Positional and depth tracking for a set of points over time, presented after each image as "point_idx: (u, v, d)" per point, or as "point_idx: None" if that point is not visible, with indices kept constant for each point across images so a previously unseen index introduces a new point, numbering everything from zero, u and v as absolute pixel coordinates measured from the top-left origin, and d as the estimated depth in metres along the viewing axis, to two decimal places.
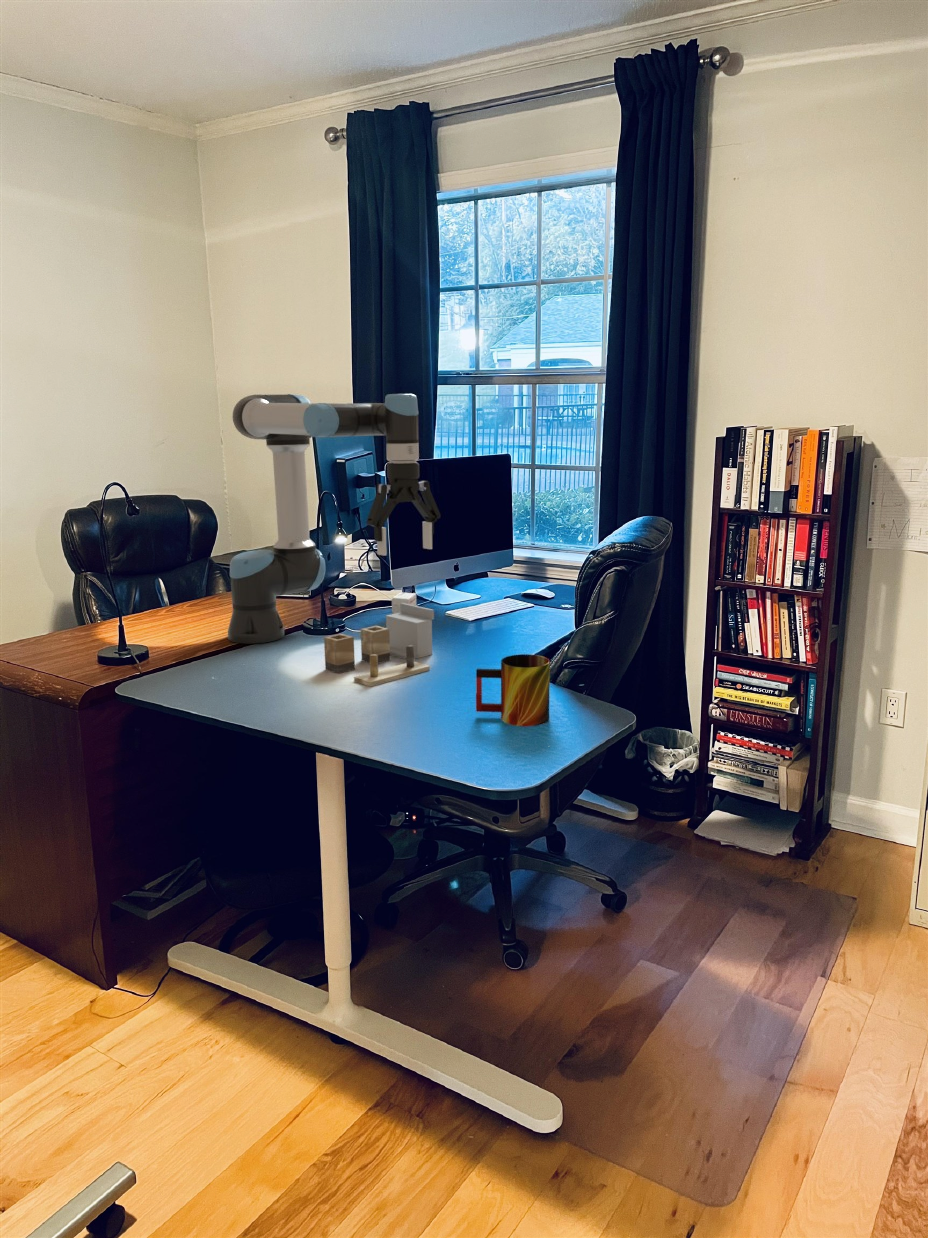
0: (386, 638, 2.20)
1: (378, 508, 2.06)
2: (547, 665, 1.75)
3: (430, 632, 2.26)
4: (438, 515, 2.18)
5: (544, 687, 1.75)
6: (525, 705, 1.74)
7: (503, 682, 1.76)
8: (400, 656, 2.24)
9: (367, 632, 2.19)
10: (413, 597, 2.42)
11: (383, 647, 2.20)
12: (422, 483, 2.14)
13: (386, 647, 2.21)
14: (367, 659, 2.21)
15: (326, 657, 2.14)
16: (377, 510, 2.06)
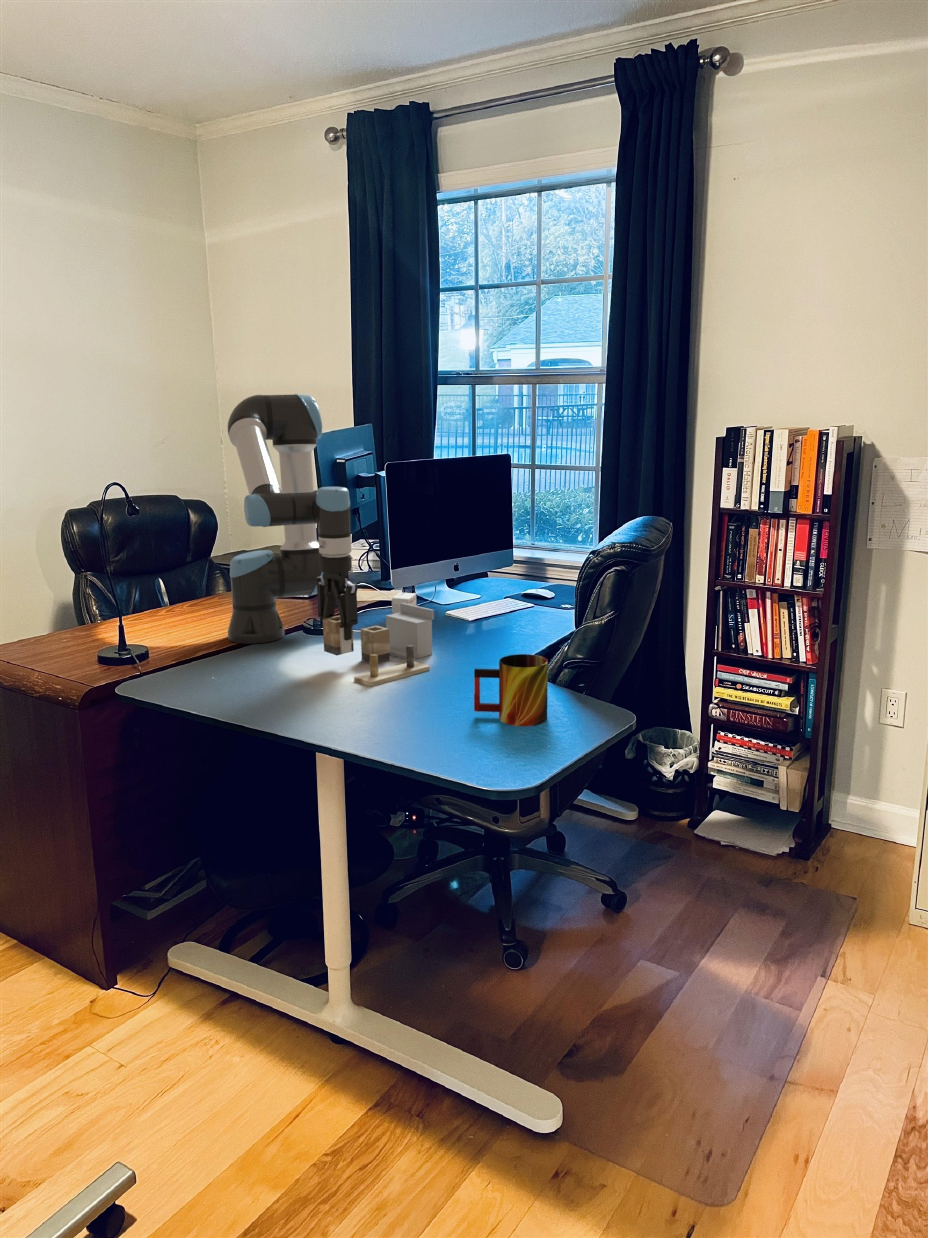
0: (386, 638, 2.20)
1: (318, 600, 2.15)
2: (545, 665, 1.75)
3: (430, 632, 2.26)
4: (347, 622, 2.08)
5: (542, 687, 1.75)
6: (523, 704, 1.74)
7: (501, 682, 1.76)
8: (400, 656, 2.24)
9: (367, 632, 2.19)
10: (413, 597, 2.42)
11: (383, 647, 2.20)
12: (348, 584, 2.06)
13: (386, 647, 2.21)
14: (367, 659, 2.21)
15: (324, 639, 2.14)
16: (318, 603, 2.15)
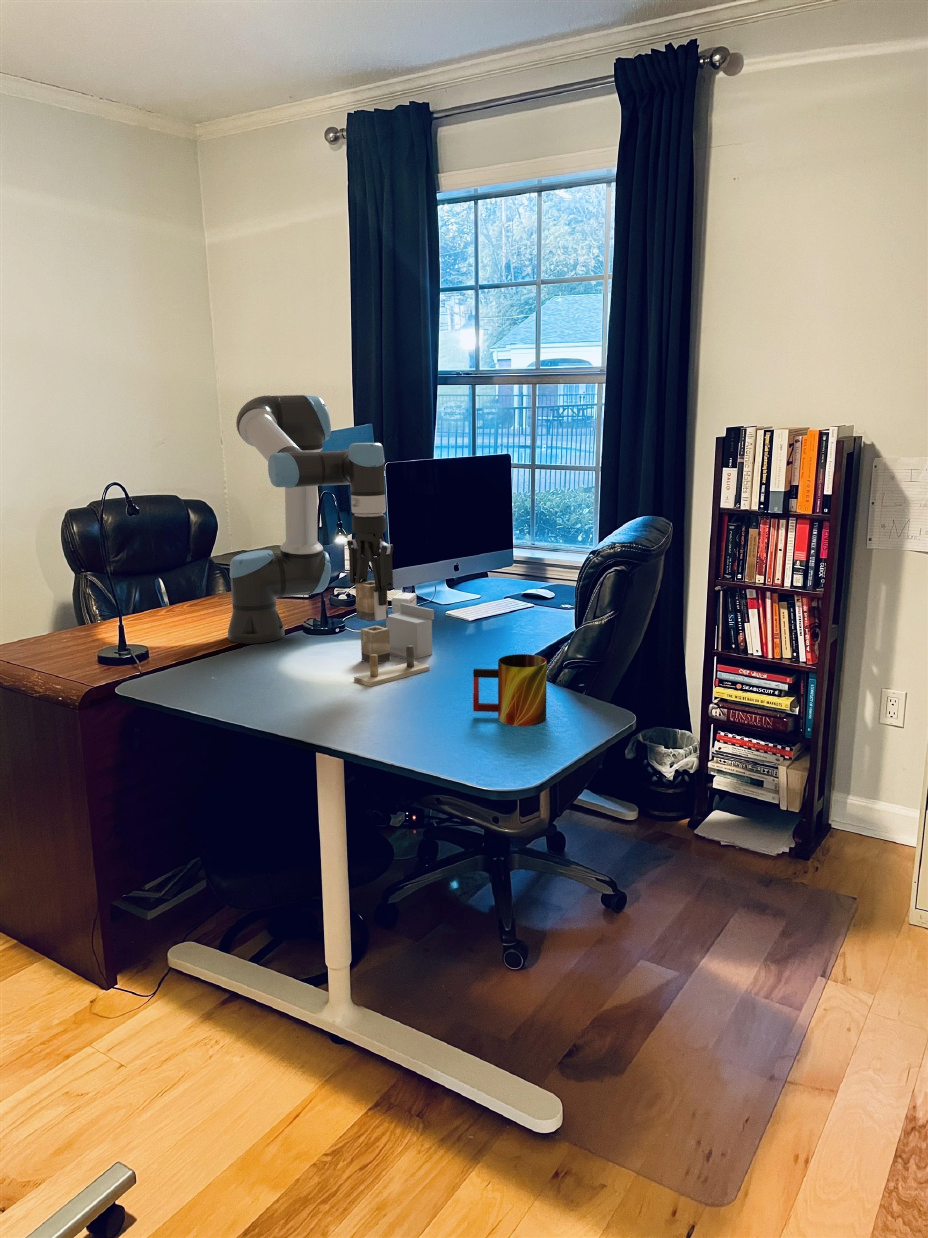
0: (386, 638, 2.20)
1: (350, 565, 2.03)
2: (544, 665, 1.75)
3: (430, 632, 2.26)
4: (382, 586, 1.96)
5: (541, 687, 1.75)
6: (522, 704, 1.75)
7: (500, 682, 1.77)
8: (400, 656, 2.24)
9: (367, 632, 2.19)
10: (413, 597, 2.42)
11: (383, 647, 2.20)
12: (383, 545, 1.95)
13: (386, 647, 2.21)
14: (367, 659, 2.21)
15: (357, 605, 2.01)
16: (350, 567, 2.03)
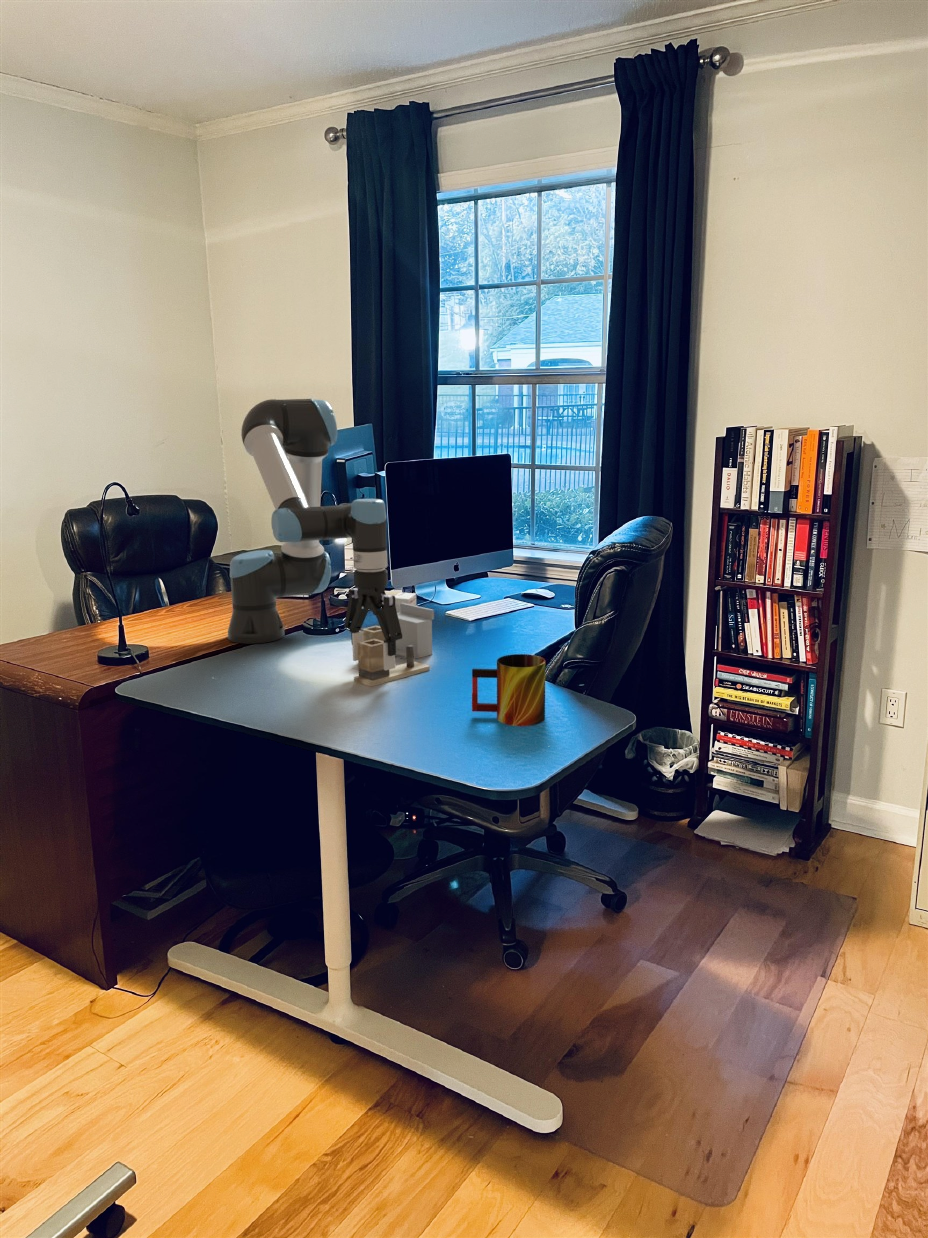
0: None
1: (347, 612, 2.07)
2: (543, 665, 1.75)
3: (430, 632, 2.26)
4: (391, 637, 1.97)
5: (540, 687, 1.75)
6: (520, 704, 1.75)
7: (499, 682, 1.77)
8: (400, 656, 2.24)
9: (367, 632, 2.19)
10: (413, 597, 2.42)
11: None
12: None
13: None
14: None
15: (359, 664, 2.05)
16: (347, 614, 2.07)
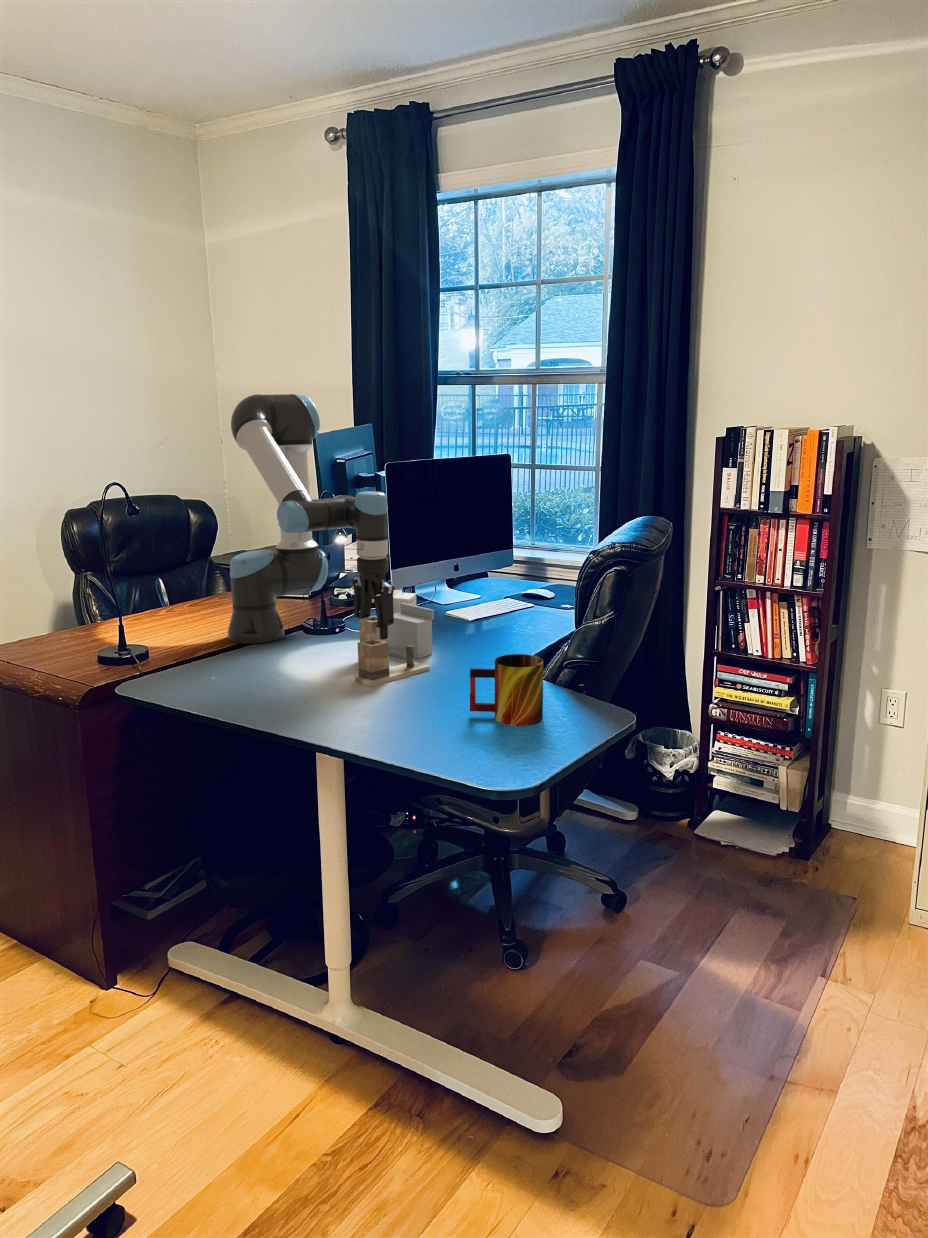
0: None
1: (354, 601, 2.23)
2: (540, 665, 1.75)
3: (430, 632, 2.26)
4: (383, 622, 2.16)
5: (538, 687, 1.75)
6: (518, 704, 1.75)
7: (497, 682, 1.77)
8: (400, 656, 2.24)
9: (366, 622, 2.19)
10: (413, 597, 2.42)
11: None
12: (385, 585, 2.14)
13: None
14: None
15: (359, 664, 2.05)
16: (354, 603, 2.23)
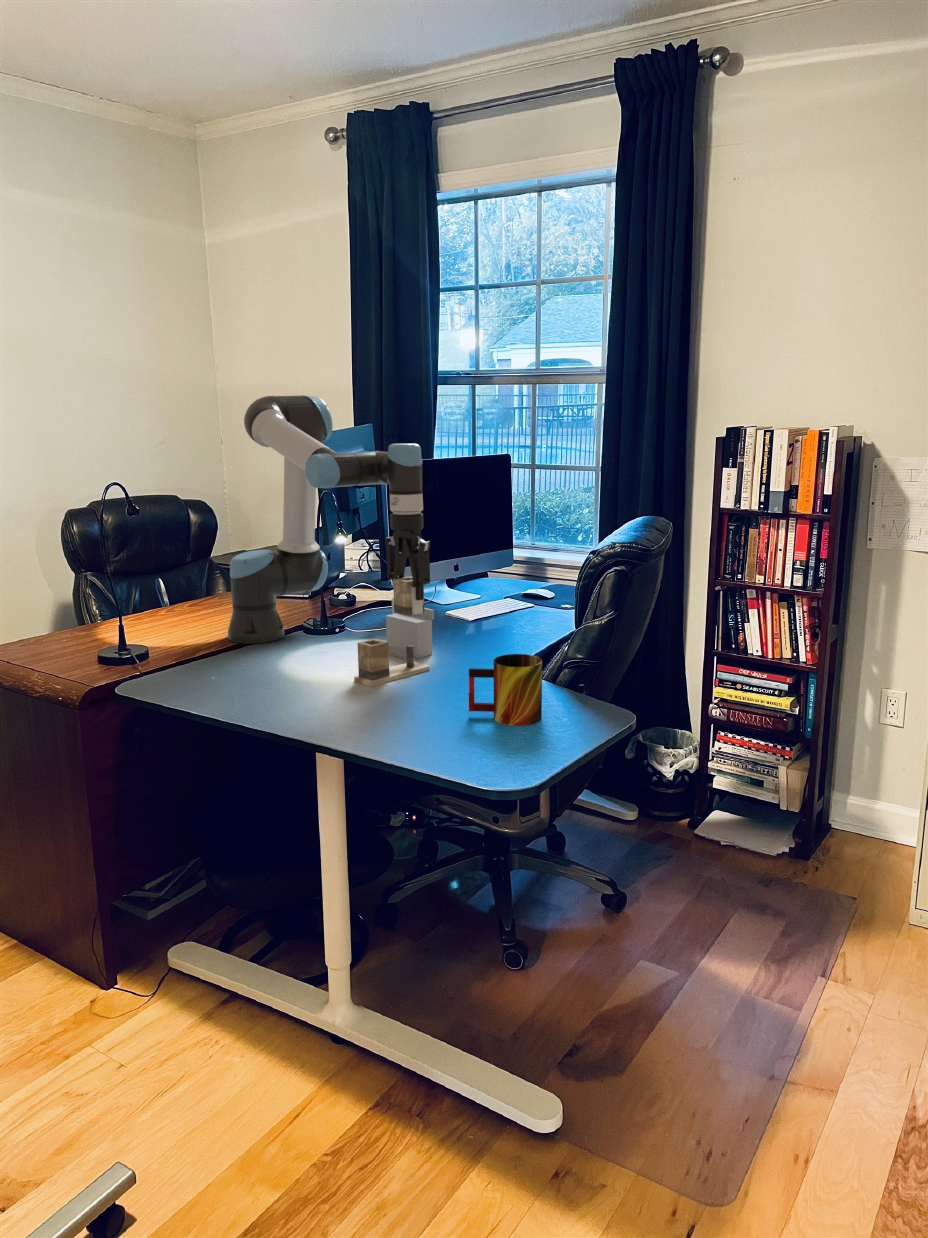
0: None
1: (387, 562, 2.11)
2: (539, 665, 1.75)
3: (430, 632, 2.26)
4: (420, 581, 2.04)
5: (536, 686, 1.76)
6: (517, 704, 1.75)
7: (495, 682, 1.77)
8: (400, 656, 2.24)
9: (400, 582, 2.07)
10: None
11: None
12: (421, 542, 2.02)
13: None
14: (400, 611, 2.08)
15: (359, 664, 2.05)
16: (387, 564, 2.11)
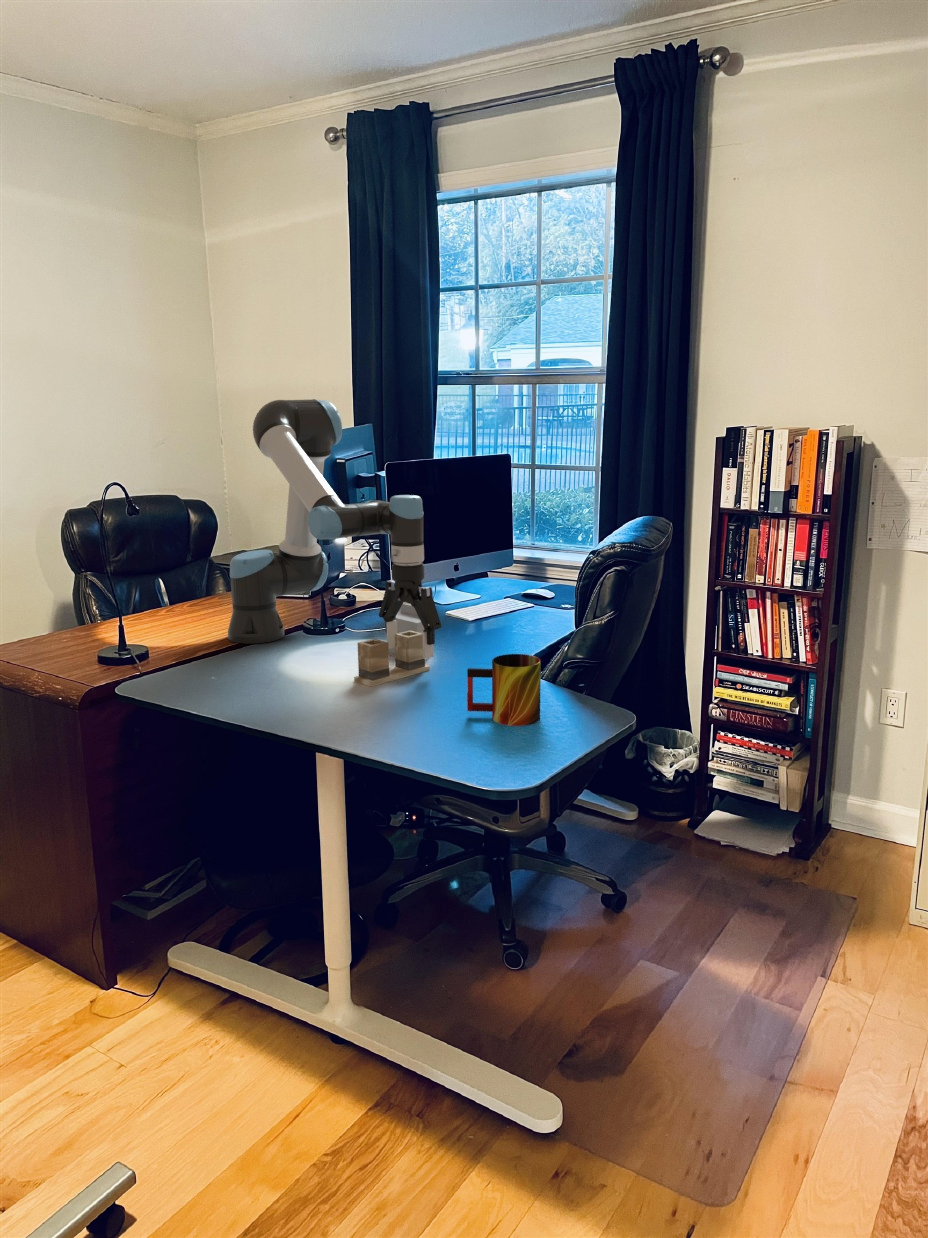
0: (421, 643, 2.11)
1: (383, 602, 2.15)
2: (538, 664, 1.75)
3: None
4: (431, 626, 2.03)
5: (535, 686, 1.76)
6: (516, 704, 1.75)
7: (494, 682, 1.77)
8: None
9: (401, 637, 2.10)
10: None
11: (418, 653, 2.11)
12: None
13: (421, 653, 2.12)
14: (401, 665, 2.11)
15: (359, 664, 2.05)
16: (382, 604, 2.15)
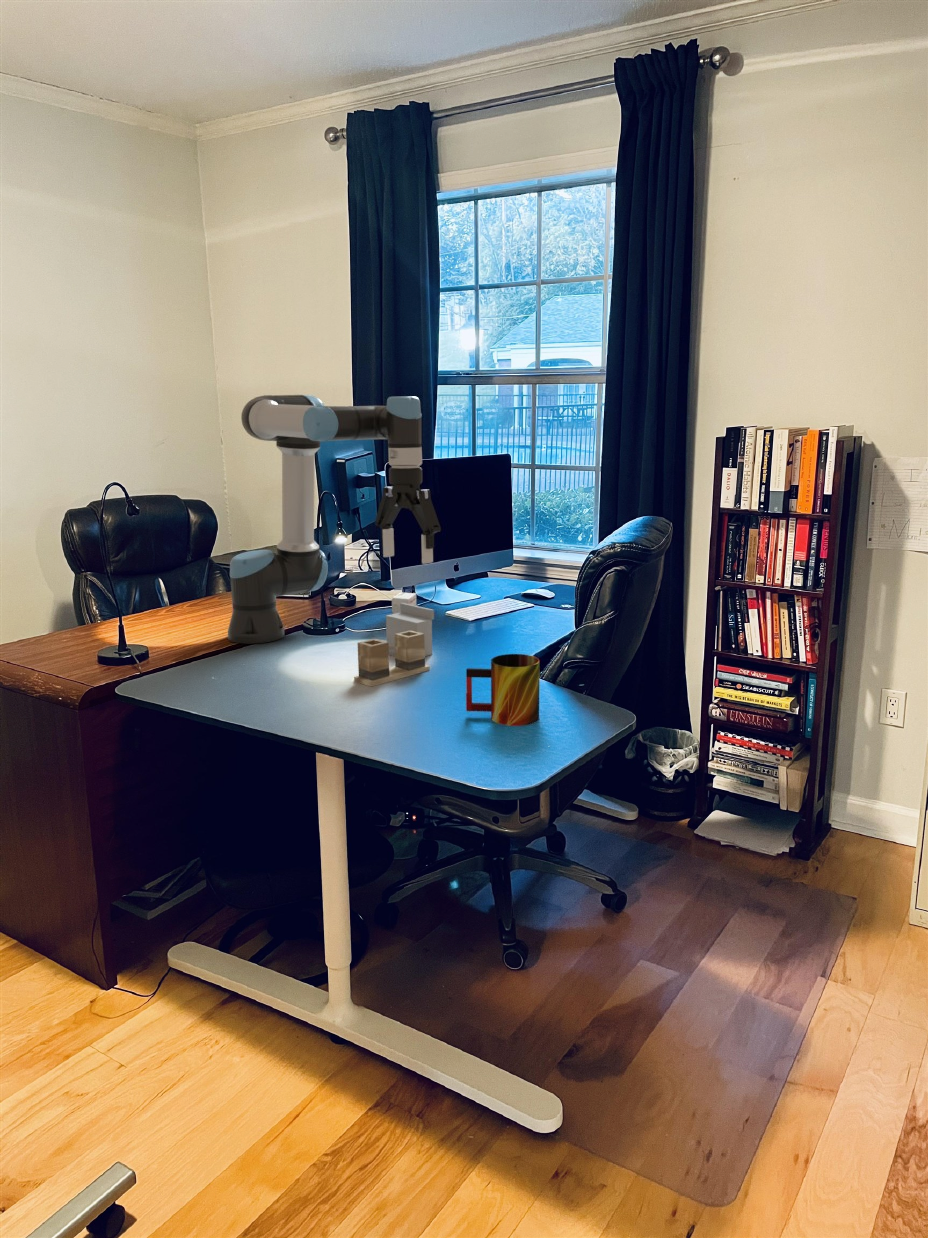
0: (421, 643, 2.11)
1: (379, 509, 2.10)
2: (537, 664, 1.75)
3: (430, 632, 2.26)
4: (430, 529, 1.98)
5: (534, 686, 1.76)
6: (515, 704, 1.75)
7: (493, 682, 1.77)
8: None
9: (401, 637, 2.10)
10: (413, 597, 2.42)
11: (418, 653, 2.11)
12: None
13: (421, 653, 2.12)
14: (401, 665, 2.11)
15: (359, 664, 2.05)
16: (378, 511, 2.10)
